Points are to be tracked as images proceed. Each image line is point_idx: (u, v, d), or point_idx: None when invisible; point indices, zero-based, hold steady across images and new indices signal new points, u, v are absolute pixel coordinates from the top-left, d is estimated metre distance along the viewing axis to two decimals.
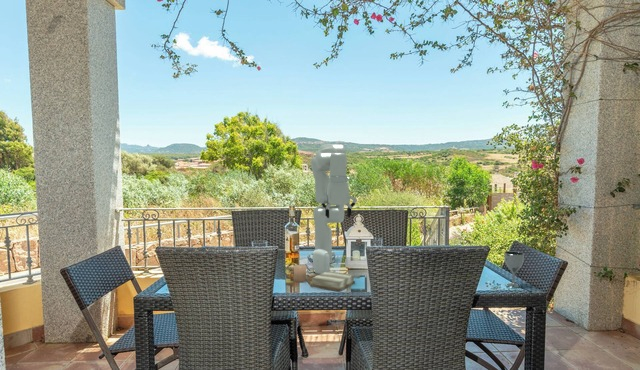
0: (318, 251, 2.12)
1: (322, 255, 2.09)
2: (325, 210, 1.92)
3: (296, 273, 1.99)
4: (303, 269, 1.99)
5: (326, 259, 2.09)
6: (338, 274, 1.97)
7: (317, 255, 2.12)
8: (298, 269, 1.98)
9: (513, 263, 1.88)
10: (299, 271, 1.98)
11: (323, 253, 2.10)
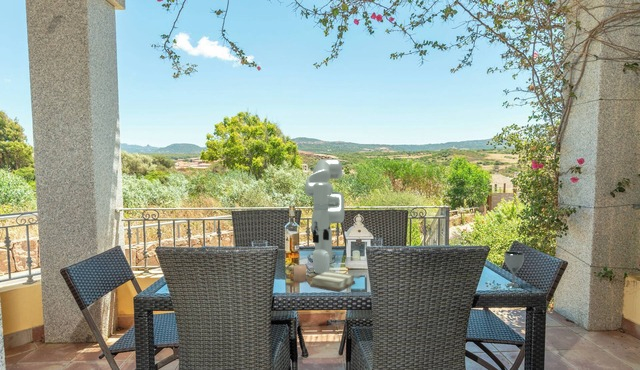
0: (318, 251, 2.12)
1: (322, 255, 2.09)
2: (313, 236, 2.08)
3: (296, 273, 1.99)
4: (303, 269, 1.99)
5: (326, 259, 2.09)
6: (338, 274, 1.97)
7: (317, 255, 2.12)
8: (298, 269, 1.98)
9: (513, 263, 1.88)
10: (299, 271, 1.98)
11: (323, 253, 2.10)
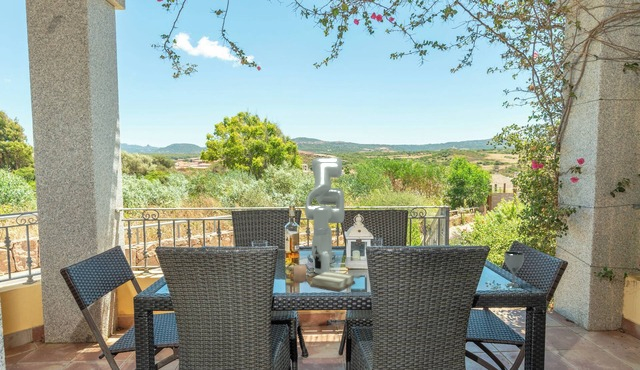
0: None
1: (322, 255, 2.09)
2: (316, 262, 2.10)
3: (296, 273, 1.99)
4: (303, 269, 1.99)
5: (326, 259, 2.09)
6: (338, 274, 1.97)
7: None
8: (298, 269, 1.98)
9: (513, 263, 1.88)
10: (299, 271, 1.98)
11: (323, 253, 2.10)
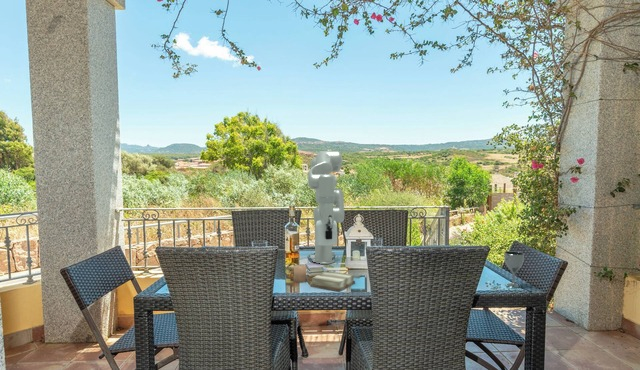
0: None
1: (333, 224, 2.00)
2: (328, 232, 1.98)
3: (296, 273, 1.99)
4: (303, 269, 1.99)
5: (336, 228, 2.02)
6: (338, 274, 1.97)
7: (325, 225, 2.00)
8: (298, 269, 1.98)
9: (513, 263, 1.88)
10: (299, 271, 1.98)
11: None
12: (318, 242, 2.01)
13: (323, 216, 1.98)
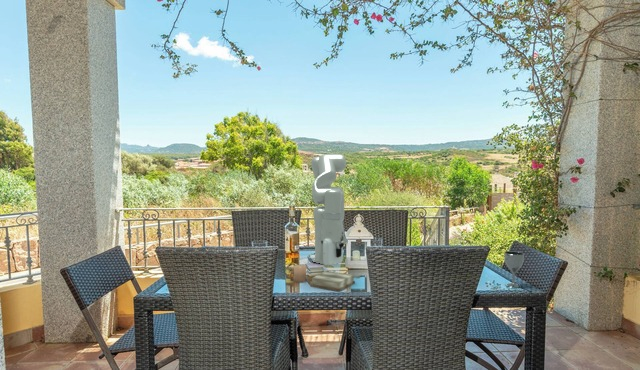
0: None
1: None
2: (340, 250, 1.91)
3: (296, 273, 1.99)
4: (303, 269, 1.99)
5: None
6: (338, 274, 1.97)
7: (335, 243, 1.91)
8: (298, 269, 1.98)
9: (513, 263, 1.88)
10: (299, 271, 1.98)
11: None
12: (329, 261, 1.89)
13: (336, 233, 1.89)
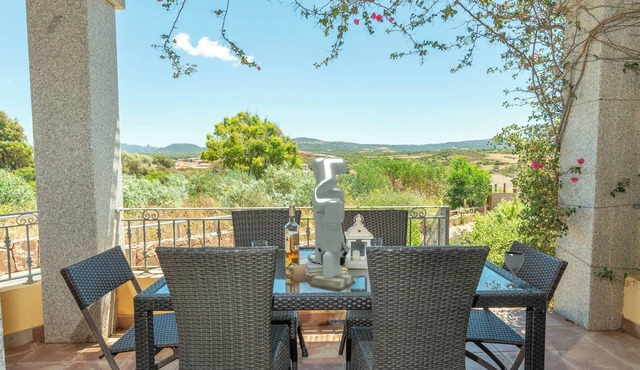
0: None
1: None
2: (343, 258, 1.90)
3: (296, 273, 1.99)
4: (303, 269, 1.99)
5: None
6: None
7: (335, 256, 1.92)
8: (298, 269, 1.98)
9: (513, 263, 1.88)
10: (299, 271, 1.98)
11: None
12: (329, 275, 1.90)
13: (336, 244, 1.89)
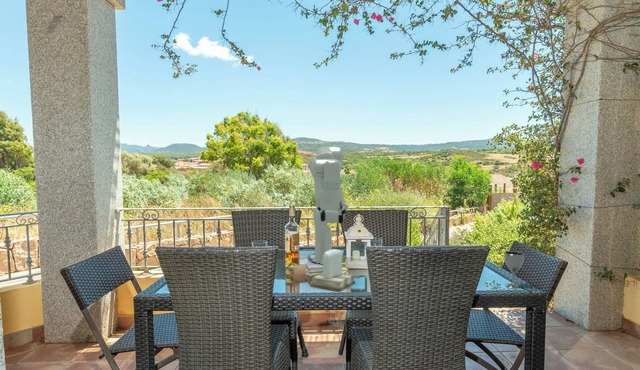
0: (334, 251, 1.92)
1: (340, 253, 1.95)
2: (342, 216, 1.97)
3: (296, 273, 1.99)
4: (303, 269, 1.99)
5: None
6: None
7: (335, 256, 1.92)
8: (298, 269, 1.98)
9: (513, 263, 1.88)
10: (299, 271, 1.98)
11: (339, 251, 1.95)
12: (329, 275, 1.90)
13: (335, 202, 1.96)
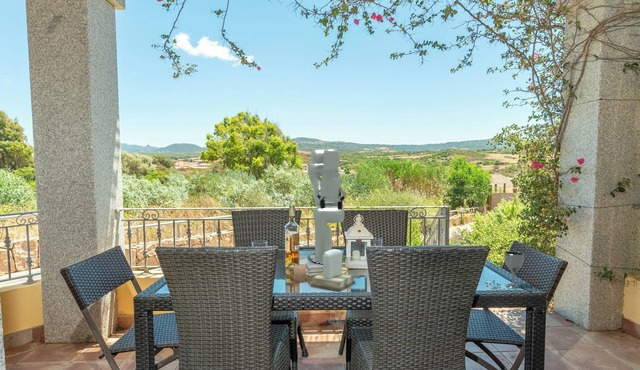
0: (334, 251, 1.92)
1: (340, 253, 1.95)
2: (341, 203, 2.05)
3: (296, 273, 1.99)
4: (303, 269, 1.99)
5: None
6: None
7: (335, 256, 1.92)
8: (298, 269, 1.98)
9: (513, 263, 1.88)
10: (299, 271, 1.98)
11: (339, 251, 1.95)
12: (329, 275, 1.90)
13: (334, 189, 2.04)
